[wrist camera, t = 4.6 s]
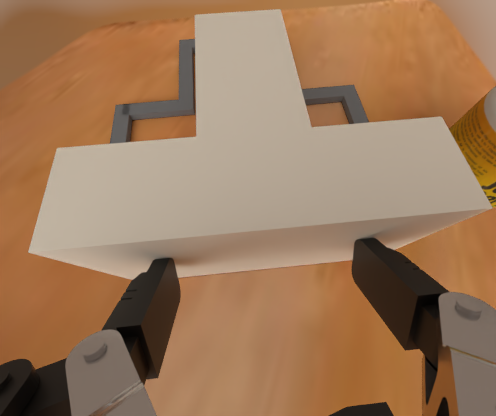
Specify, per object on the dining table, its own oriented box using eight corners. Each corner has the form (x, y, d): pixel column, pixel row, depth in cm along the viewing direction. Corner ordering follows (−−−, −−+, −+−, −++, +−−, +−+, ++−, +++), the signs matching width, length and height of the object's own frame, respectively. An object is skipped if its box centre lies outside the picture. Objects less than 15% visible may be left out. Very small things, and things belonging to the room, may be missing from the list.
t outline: (381, 168, 18) (385, 163, 17) (107, 195, 17) (102, 191, 17) (329, 35, 24) (331, 28, 24) (128, 50, 24) (125, 44, 23)
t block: (375, 257, 15) (492, 208, 8) (139, 281, 15) (28, 252, 7) (330, 116, 20) (378, 2, 13) (151, 130, 19) (92, 21, 12)
